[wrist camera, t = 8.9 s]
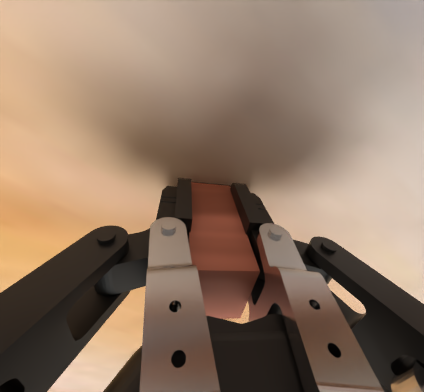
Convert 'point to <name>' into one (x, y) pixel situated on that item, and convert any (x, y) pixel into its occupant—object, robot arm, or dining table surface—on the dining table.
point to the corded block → (221, 251)
